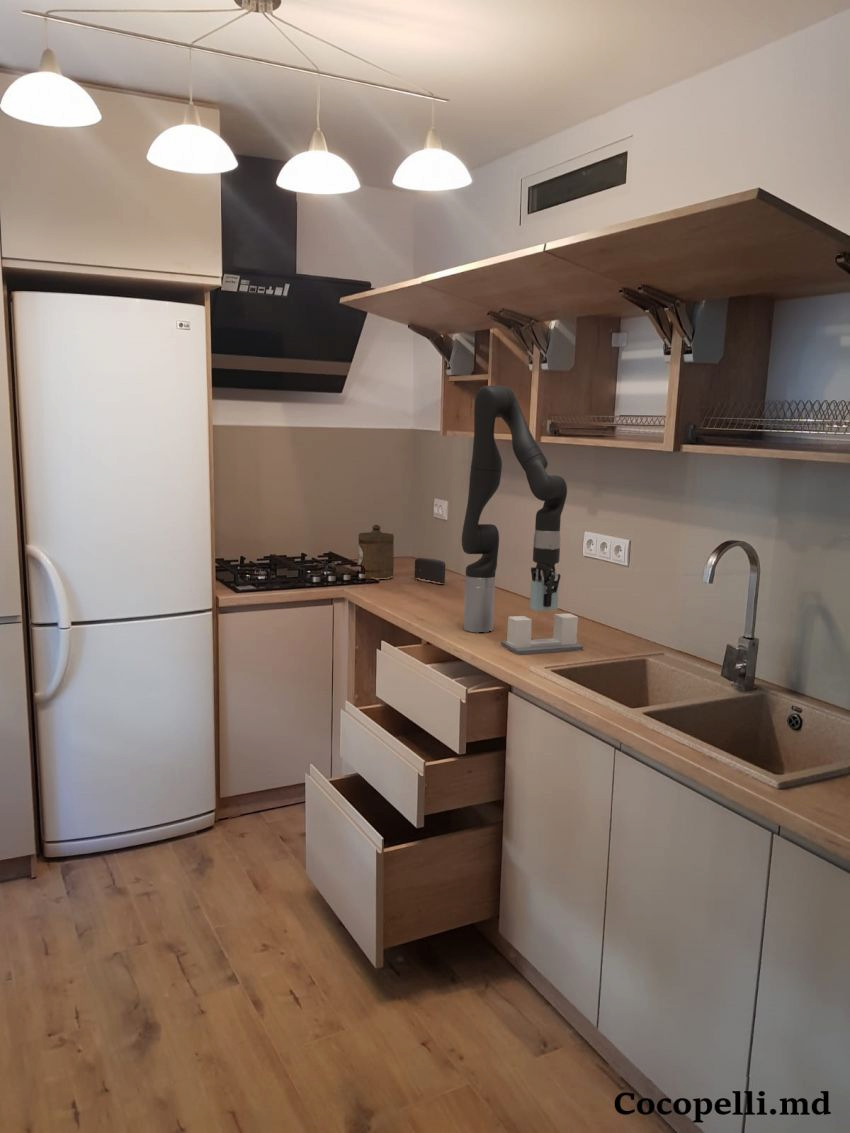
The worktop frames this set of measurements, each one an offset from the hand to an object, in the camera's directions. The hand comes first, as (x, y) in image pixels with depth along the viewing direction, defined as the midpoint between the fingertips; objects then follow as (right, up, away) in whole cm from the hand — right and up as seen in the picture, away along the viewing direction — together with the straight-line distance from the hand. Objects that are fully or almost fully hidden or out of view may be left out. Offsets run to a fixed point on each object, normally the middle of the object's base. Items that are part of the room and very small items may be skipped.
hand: (543, 604), depth 243 cm
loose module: (0, -1, 0) cm, 1 cm away
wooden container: (-55, +6, +109) cm, 122 cm away
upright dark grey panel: (-32, +4, +101) cm, 106 cm away
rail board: (0, -13, +2) cm, 13 cm away
